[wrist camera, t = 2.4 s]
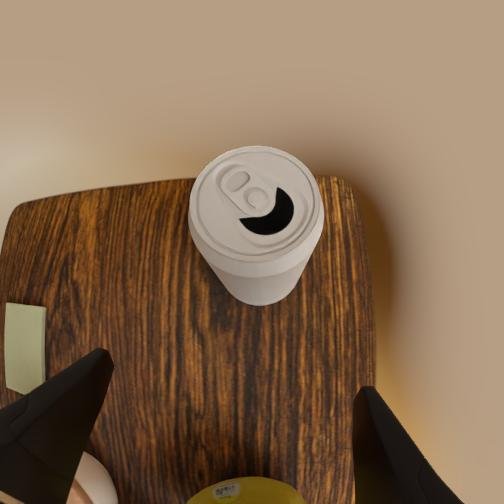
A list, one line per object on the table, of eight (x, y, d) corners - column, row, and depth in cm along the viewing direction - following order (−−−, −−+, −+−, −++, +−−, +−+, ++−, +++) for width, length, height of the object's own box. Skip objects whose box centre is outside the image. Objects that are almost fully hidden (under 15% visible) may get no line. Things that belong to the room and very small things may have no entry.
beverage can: (257, 323, 22) (250, 305, 11) (205, 265, 24) (153, 196, 12) (315, 269, 23) (359, 200, 12) (261, 216, 25) (258, 118, 13)
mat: (47, 402, 20) (43, 402, 19) (9, 386, 20) (6, 387, 20) (46, 307, 23) (42, 306, 22) (9, 303, 23) (6, 302, 23)
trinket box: (36, 447, 18) (-21, 463, 9) (84, 413, 20) (17, 431, 11) (95, 522, 15) (52, 557, 6) (156, 501, 17) (115, 552, 8)
